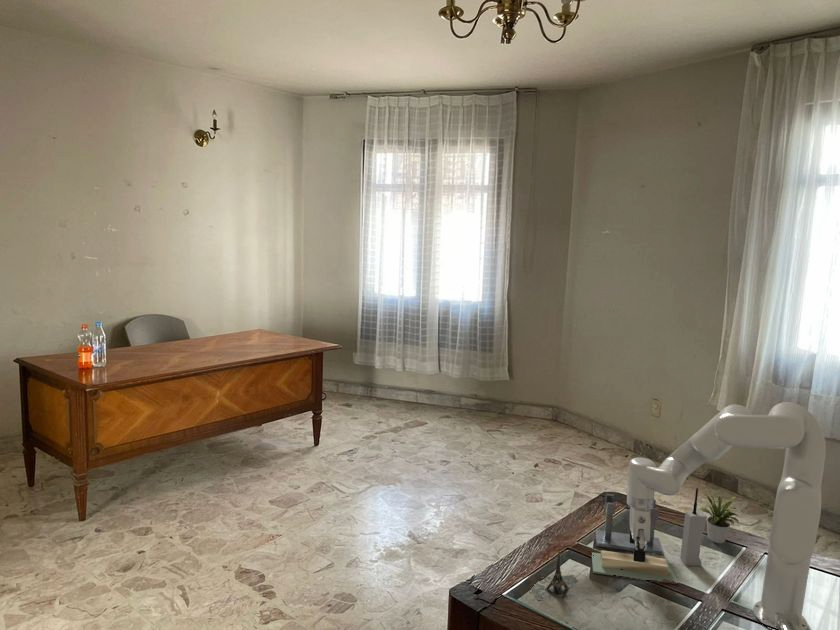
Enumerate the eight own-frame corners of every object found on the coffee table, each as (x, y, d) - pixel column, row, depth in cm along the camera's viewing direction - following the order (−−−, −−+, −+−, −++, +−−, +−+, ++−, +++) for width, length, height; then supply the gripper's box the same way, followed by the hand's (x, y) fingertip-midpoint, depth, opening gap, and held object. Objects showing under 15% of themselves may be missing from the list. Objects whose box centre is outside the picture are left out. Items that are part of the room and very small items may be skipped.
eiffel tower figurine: (574, 576, 179) (577, 535, 177) (588, 598, 170) (592, 555, 167) (526, 580, 177) (528, 539, 175) (537, 603, 167) (540, 560, 165)
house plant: (692, 546, 195) (697, 500, 192) (686, 524, 208) (691, 481, 205) (740, 554, 191) (746, 507, 188) (732, 532, 204) (737, 487, 201)
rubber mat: (678, 585, 175) (678, 583, 175) (593, 572, 180) (593, 571, 180) (671, 565, 185) (672, 563, 185) (591, 554, 190) (591, 552, 190)
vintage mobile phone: (701, 566, 185) (710, 491, 180) (685, 565, 185) (693, 491, 180) (695, 559, 188) (704, 485, 183) (680, 558, 188) (688, 485, 183)
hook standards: (662, 555, 190) (666, 511, 187) (597, 546, 194) (600, 503, 191) (658, 541, 198) (662, 499, 195) (595, 533, 202) (598, 492, 199)
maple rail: (667, 575, 179) (668, 566, 178) (601, 566, 183) (602, 557, 182) (665, 567, 182) (666, 559, 182) (600, 558, 186) (601, 550, 186)
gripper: (658, 515, 169) (654, 570, 172) (649, 487, 186) (646, 538, 189) (630, 512, 171) (627, 567, 174) (624, 485, 187) (621, 535, 190)
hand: (636, 552), depth 181 cm, fingers open, 9 cm apart
